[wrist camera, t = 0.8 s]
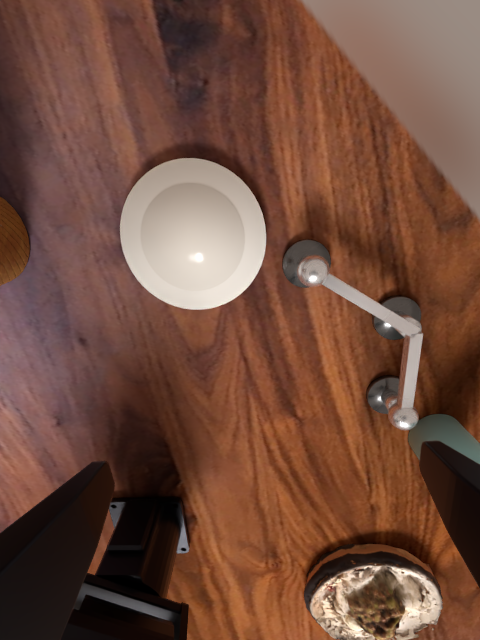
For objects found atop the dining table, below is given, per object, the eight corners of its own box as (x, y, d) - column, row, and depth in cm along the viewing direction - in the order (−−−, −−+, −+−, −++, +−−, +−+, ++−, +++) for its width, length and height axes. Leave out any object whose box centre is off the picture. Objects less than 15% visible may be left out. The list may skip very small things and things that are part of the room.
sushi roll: (274, 540, 29) (277, 591, 25) (438, 515, 27) (469, 566, 24) (305, 632, 34) (312, 687, 30) (447, 616, 32) (474, 672, 28)
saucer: (268, 302, 21) (269, 306, 20) (138, 309, 21) (134, 313, 21) (262, 154, 18) (262, 151, 17) (112, 166, 18) (105, 164, 18)
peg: (457, 455, 25) (531, 544, 18) (405, 456, 25) (460, 545, 18) (465, 413, 23) (550, 493, 17) (411, 414, 24) (472, 494, 17)
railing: (405, 409, 23) (430, 443, 20) (285, 413, 24) (290, 446, 21) (428, 231, 19) (466, 236, 16) (281, 241, 20) (287, 247, 16)
